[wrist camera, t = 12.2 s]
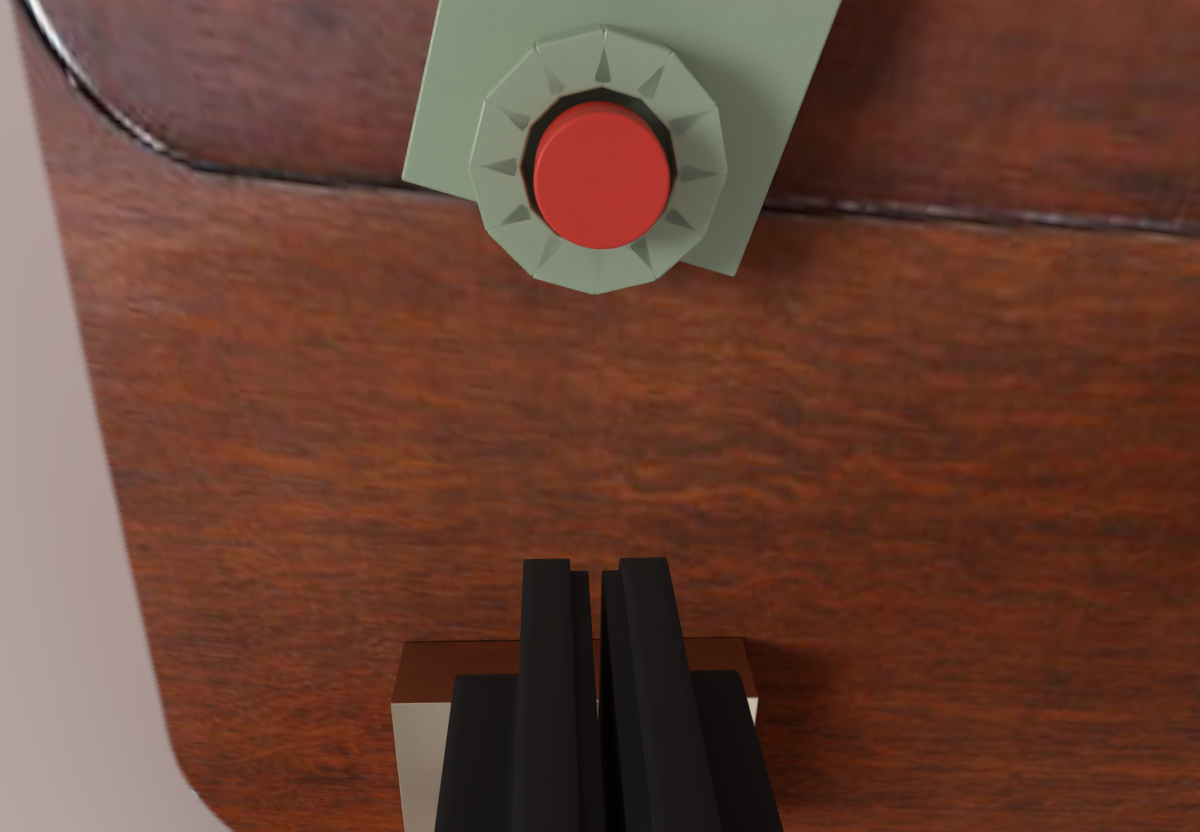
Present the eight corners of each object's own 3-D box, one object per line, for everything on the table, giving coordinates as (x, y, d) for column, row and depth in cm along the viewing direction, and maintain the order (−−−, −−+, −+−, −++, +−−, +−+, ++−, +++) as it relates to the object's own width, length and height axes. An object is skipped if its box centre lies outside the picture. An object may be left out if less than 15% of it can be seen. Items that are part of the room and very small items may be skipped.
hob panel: (419, 802, 36) (407, 874, 33) (403, 641, 32) (389, 707, 29) (723, 795, 36) (738, 865, 34) (742, 637, 33) (760, 701, 30)
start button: (639, 244, 22) (645, 266, 21) (520, 209, 22) (518, 229, 20) (679, 123, 21) (690, 136, 20) (554, 82, 21) (555, 93, 19)
